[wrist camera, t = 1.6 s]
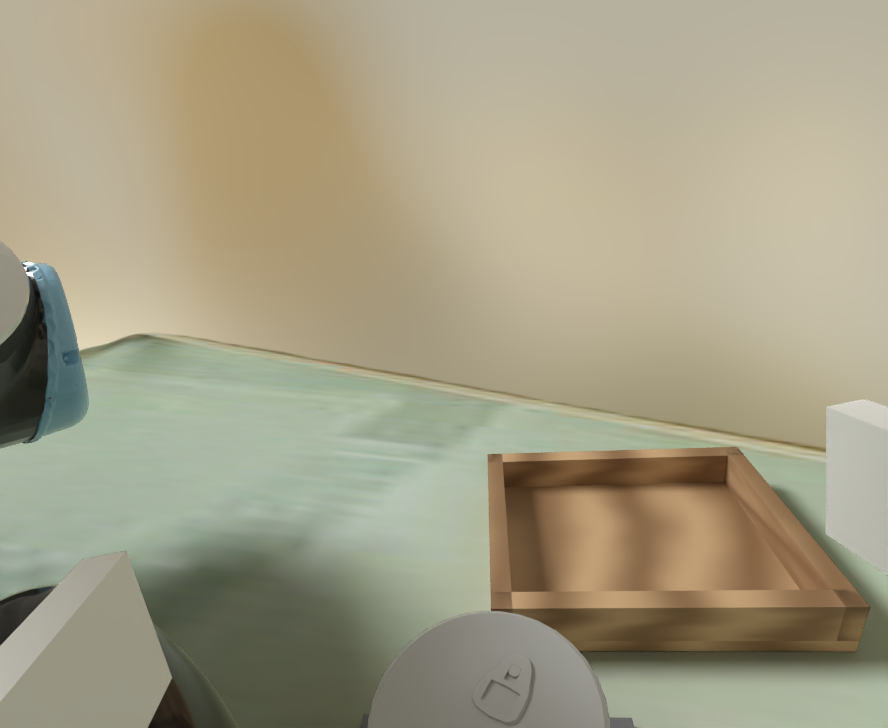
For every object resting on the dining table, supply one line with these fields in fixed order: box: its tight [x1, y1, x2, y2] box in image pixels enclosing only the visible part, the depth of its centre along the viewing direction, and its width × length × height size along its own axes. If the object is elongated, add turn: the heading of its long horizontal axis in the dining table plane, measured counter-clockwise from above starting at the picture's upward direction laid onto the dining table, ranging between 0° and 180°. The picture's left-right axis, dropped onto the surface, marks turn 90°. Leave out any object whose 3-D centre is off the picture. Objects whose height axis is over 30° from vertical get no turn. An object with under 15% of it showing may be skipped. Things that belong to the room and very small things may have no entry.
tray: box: [488, 447, 870, 652], centre depth 37 cm, size 20×16×3 cm
